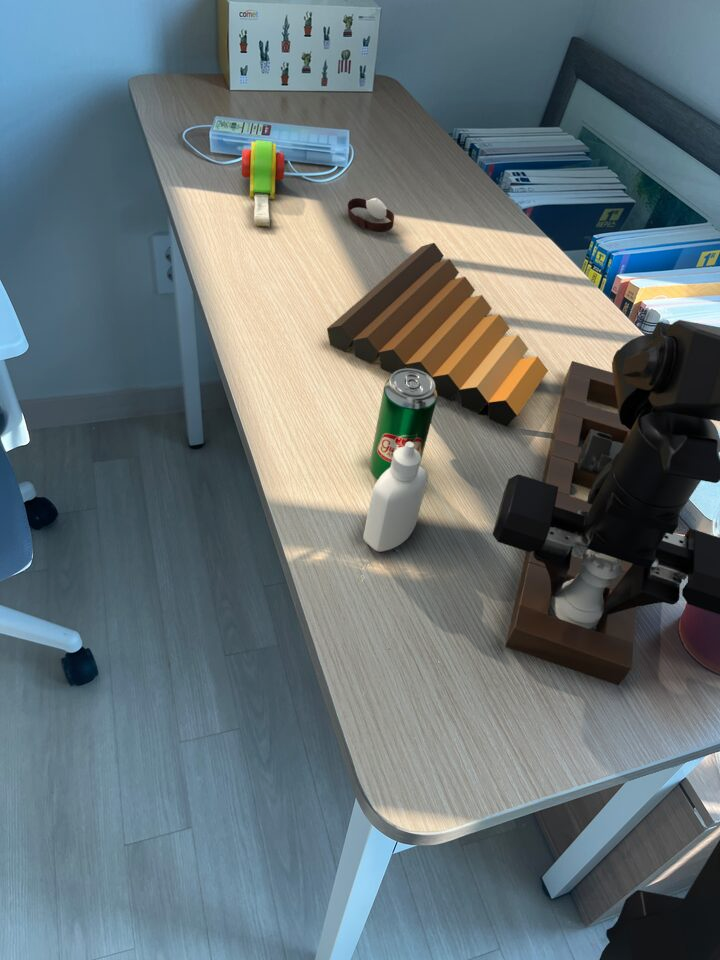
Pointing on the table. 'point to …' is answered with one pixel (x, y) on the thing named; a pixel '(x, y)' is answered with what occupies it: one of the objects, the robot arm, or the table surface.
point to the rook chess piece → (586, 590)
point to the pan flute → (441, 336)
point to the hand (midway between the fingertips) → (580, 600)
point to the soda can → (403, 416)
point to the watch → (375, 209)
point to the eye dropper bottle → (396, 500)
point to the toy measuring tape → (262, 176)
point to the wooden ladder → (530, 624)
